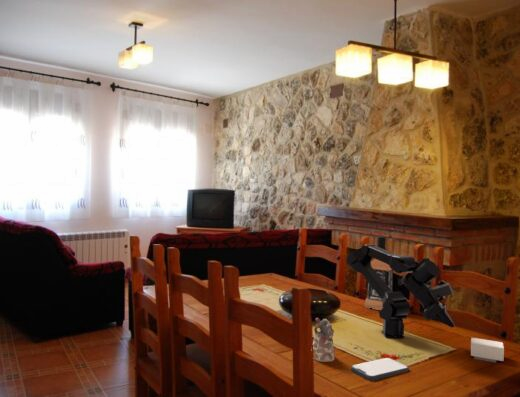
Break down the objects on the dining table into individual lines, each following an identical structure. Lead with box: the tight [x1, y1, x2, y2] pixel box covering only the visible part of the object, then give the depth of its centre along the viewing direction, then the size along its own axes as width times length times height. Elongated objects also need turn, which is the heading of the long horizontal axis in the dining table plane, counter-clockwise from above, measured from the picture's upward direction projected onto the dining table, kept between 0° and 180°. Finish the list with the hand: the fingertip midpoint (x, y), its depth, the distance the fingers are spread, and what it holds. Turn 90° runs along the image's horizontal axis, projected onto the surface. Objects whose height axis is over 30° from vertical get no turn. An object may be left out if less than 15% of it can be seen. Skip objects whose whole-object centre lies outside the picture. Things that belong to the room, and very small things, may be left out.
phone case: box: [350, 357, 410, 382], centre depth 123 cm, size 9×2×16 cm
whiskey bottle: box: [364, 235, 394, 311], centre depth 191 cm, size 10×10×32 cm
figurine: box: [312, 317, 336, 363], centre depth 131 cm, size 7×7×12 cm
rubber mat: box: [473, 356, 497, 363], centre depth 136 cm, size 6×8×1 cm
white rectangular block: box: [470, 337, 505, 362], centre depth 136 cm, size 4×6×9 cm
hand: (453, 326), depth 140 cm, fingers closed
